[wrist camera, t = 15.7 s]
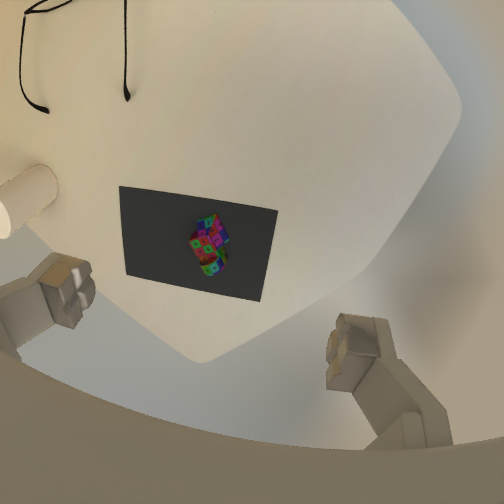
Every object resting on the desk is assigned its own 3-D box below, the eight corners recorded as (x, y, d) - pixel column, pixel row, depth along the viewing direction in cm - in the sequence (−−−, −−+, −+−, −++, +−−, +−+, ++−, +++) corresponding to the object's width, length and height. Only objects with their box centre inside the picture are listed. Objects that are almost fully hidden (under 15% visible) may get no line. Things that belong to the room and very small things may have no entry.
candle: (35, 155, 35) (-41, 199, 22) (63, 181, 37) (-10, 235, 24) (24, 185, 38) (-43, 233, 25) (50, 211, 40) (-15, 267, 27)
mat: (278, 210, 36) (278, 211, 36) (259, 301, 44) (259, 302, 44) (119, 186, 36) (119, 186, 36) (126, 274, 44) (126, 274, 44)
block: (237, 254, 40) (232, 269, 37) (209, 262, 41) (202, 278, 38) (216, 213, 37) (210, 226, 34) (187, 223, 38) (179, 237, 35)
